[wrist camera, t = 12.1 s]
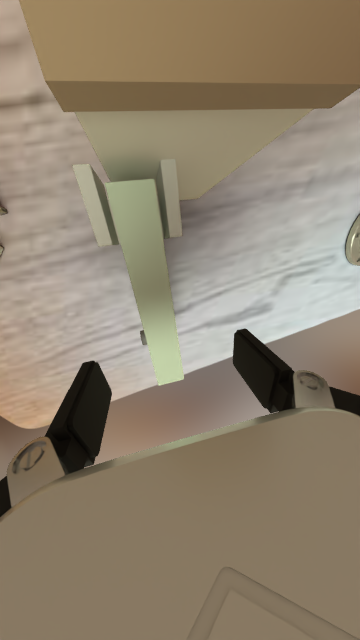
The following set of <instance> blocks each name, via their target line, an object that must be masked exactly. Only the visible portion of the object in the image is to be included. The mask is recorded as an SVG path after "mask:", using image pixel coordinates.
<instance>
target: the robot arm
mask: <svg viewBox="0 0 360 640" xmlns="http://www.w3.org/2000/svg"><path fill="white" fill-rule="evenodd" d="M346 256H347V259H348V261H349V262H350V263H351V264H353V265H357V266H360V215H359V217H358V218H357V220H356V221H355V223H354V225H353V227H352V229H351V230H350V233H349V236H348V239H347V243H346ZM233 364H234V366H235V368H236V369H237V371H238V372H239V373H240V375H241V376H242V378H243V379H244V380H245V382H246V383H247V385H248V386H249V388H250V389H251V390H252V392H253V393H254V395H255V396H256V397H257V399H258V400H259V402H260V403H261V404H262V406H263V407H264V408H267V409H268V410H269V412H270V413H273V414H269V415H265V416H262V417H258V418H255V419H251V420H247V421H244V422H240V423H237V424H233V425H230V426H226V427H223V428H219V429H216V430H212V431H209V432H205V433H202V434H198V435H195V436H191V437H188V438H184V439H181V440H177V441H174V442H170V443H167V444H164V445H160V446H157V447H153V448H150V449H147V450H143V451H140V452H136V453H133V454H130V455H126V456H123V457H119V458H116V459H113V460H110V461H107V462H104V463H101V464H97V465H94V466H91V467H88V468H84V467H87V466H90V465H93V464H94V461H95V457H96V456H98V454H99V451H100V446H101V441H102V437H103V432H104V428H105V423H106V419H107V414H108V410H109V405H110V401H111V396H112V392H111V389H110V387H109V385H108V383H107V380H106V378H105V376H104V374H103V372H102V370H101V368H100V366H99V364H98V363H97V362H96V363H95V361H89V362H85V363H83V364H82V366H81V368H80V370H79V372H78V373H77V375H76V377H75V379H74V381H73V383H72V385H71V387H70V389H69V390H68V392H67V394H66V396H65V398H64V400H63V402H62V404H61V406H60V408H59V410H58V411H57V413H56V415H55V417H54V419H53V421H52V423H51V425H50V427H49V429H48V431H47V433H46V435H45V437H39V438H37V439H34V440H32V441H31V442H30V443H28V444H26V445H25V446H24V447H23V448H22V449H21V450H20V451H19V452H18V453H17V454H16V455H15V456H14V458H13V459H12V461H11V462H10V464H9V466H8V469H7V476H6V477H5V478H3V479H2V480H1V481H0V640H360V396H359V395H356V394H352V393H349V392H346V391H342V390H339V389H336V388H333V387H329V386H328V384H327V382H326V381H325V380H324V379H323V378H322V377H321V376H319V375H318V374H315V373H313V372H310V371H306V370H299V371H296V372H294V371H293V370H292V368H290V367H289V366H288V365H287V364H286V363H285V362H284V361H283V360H281V359H280V358H279V357H278V356H277V355H275V354H274V353H273V352H272V351H271V350H270V349H269V348H268V347H266V346H265V345H264V344H263V343H262V342H261V341H260V340H258V339H257V338H256V337H255V336H254V335H253V334H251V333H250V332H249V331H248V330H247V329H241V330H237V331H236V333H235V334H234V350H233ZM277 411H279V412H277ZM274 412H277V413H274Z"/></svg>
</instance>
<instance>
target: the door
mask: <svg viewBox="0 0 360 640" xmlns="http://www.w3.org/2000/svg"><path fill="white" fill-rule="evenodd" d="M105 186H106V190H107V194H108V198H109V201H110V205H111V209H112V213H113V216H114V220H115V224H116V228H117V231H118V235H119V239H120V243H121V246H122V250H123V254H124V258H125V261H126V265H127V269H128V273H129V276H130V280H131V284H132V288H133V291H134V295H135V299H136V303H137V306H138V310H139V314H140V318H141V321H142V325H143V329H144V330H143V331H140V334H141V340H142V344H143V345H147V344H148V348H149V351H150V355H151V359H152V363H153V366H154V370H155V374H156V378H157V381H158V385H159V386H160V385H163V384H167V383H171V382H175V381H179V380H183V379H184V375H183V369H182V362H181V355H180V349H179V342H178V335H177V329H176V322H175V315H174V309H173V302H172V296H171V289H170V282H169V276H168V269H167V262H166V256H165V249H164V242H163V236H162V229H161V222H160V216H159V209H158V202H157V196H156V189H155V183H154V179H145V180H132V181H120V182H107V183H105Z"/></svg>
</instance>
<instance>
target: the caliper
mask: <svg viewBox="0 0 360 640" xmlns="http://www.w3.org/2000/svg"><path fill="white" fill-rule="evenodd" d="M3 214H7V210H6V209H4V208H2V207H0V215H3Z"/></svg>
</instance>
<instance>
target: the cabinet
mask: <svg viewBox="0 0 360 640" xmlns="http://www.w3.org/2000/svg"><path fill="white" fill-rule="evenodd" d="M19 2H20V5H21V8H22V11H23V14H24V17H25V20H26V23H27V26H28V29H29V32H30V36H31V39H32V42H33V45H34V48H35V51H36V54H37V57H38V60H39V63H40V66H41V70H42V73H43V76H44V79H45V81H46V83H47V85H48V86H49V88H50V90H51V91H52V93H53V95H54V96H55V98H56V100H57V101H58V103H59V105H60V106H61V108H62V110H63V111H64V112H75V114H76V115H77V117H78V119H79V121H80V123H81V125H82V127H83V129H84V131H85V133H86V135H87V137H88V139H89V141H90V142H91V144H92V146H93V148H94V150H95V152H96V154H97V156H98V158H99V160H100V162H101V164H102V166H103V168H104V169H105V171H106V173H107V175H108V177H109V179H110V181H111V182H120V181H132V180H145V179H154V183H155V189H156V196H157V202H158V209H159V216H160V222H161V229H162V236H163V239H165V238H172V237H179V236H182V225H181V214H180V204H179V200H189V199H198V198H199V197H201V196H202V195H203V194H205V193H206V192H207V191H208V190H210V189H211V188H212V187H214V186H215V185H216V184H217V183H219V182H220V181H221V180H223V179H224V178H225V177H226V176H228V175H229V174H230V173H232V172H233V171H234V170H236V169H237V168H238V167H239V166H241V165H242V164H243V163H245V162H246V161H247V160H248V159H250V158H251V157H252V156H254V155H255V154H256V153H257V152H259V151H260V150H261V149H263V148H264V147H265V146H267V145H268V144H269V143H270V142H272V141H273V140H274V139H276V138H277V137H278V136H279V135H281V134H282V133H283V132H285V131H286V130H287V129H288V128H290V127H291V126H292V125H294V124H295V123H296V122H298V121H299V120H300V119H301V118H303V117H304V116H305V115H307V114H308V113H309V112H310V111H312V110H313V109H317V108H332V107H333V106H335V105H336V104H337V103H339V102H340V101H342V100H343V99H344V98H346V97H347V96H349V95H350V94H351V93H353V92H354V91H356V90H357V89H359V88H360V0H19ZM72 166H73V169H74V173H75V176H76V179H77V182H78V185H79V188H80V191H81V194H82V197H83V200H84V203H85V206H86V210H87V213H88V216H89V219H90V222H91V225H92V228H93V231H94V234H95V237H96V240H97V244H98V247H100V246H109V245H118V244H121V243H120V239H119V235H118V231H117V228H116V224H115V220H114V216H113V213H112V209H111V205H110V201H109V200H107V196H106V192H105V189H104V185H103V183H102V182H101V180H100V179H99V177H98V176H97V174H96V173H95V171H94V170H93V169H92V167H91V166H90V164H81V165H72Z"/></svg>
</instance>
